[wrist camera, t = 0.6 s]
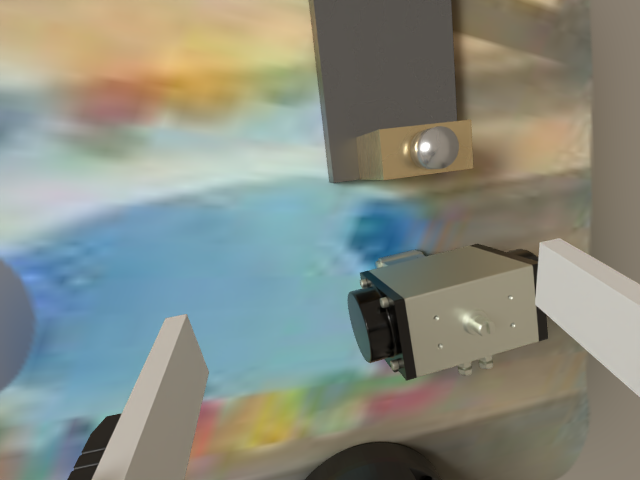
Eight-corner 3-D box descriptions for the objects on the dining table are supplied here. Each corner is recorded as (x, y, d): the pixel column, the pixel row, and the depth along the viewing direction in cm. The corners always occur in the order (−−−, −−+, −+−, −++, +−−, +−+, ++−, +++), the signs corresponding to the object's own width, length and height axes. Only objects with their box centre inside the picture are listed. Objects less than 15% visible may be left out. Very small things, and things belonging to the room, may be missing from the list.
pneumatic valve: (325, 262, 30) (374, 316, 18) (459, 230, 32) (581, 261, 20) (337, 325, 31) (391, 414, 20) (466, 291, 33) (587, 354, 21)
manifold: (449, 167, 31) (517, 163, 23) (329, 182, 29) (359, 184, 21) (433, -134, 27) (508, -261, 19) (293, -136, 25) (314, -275, 17)
